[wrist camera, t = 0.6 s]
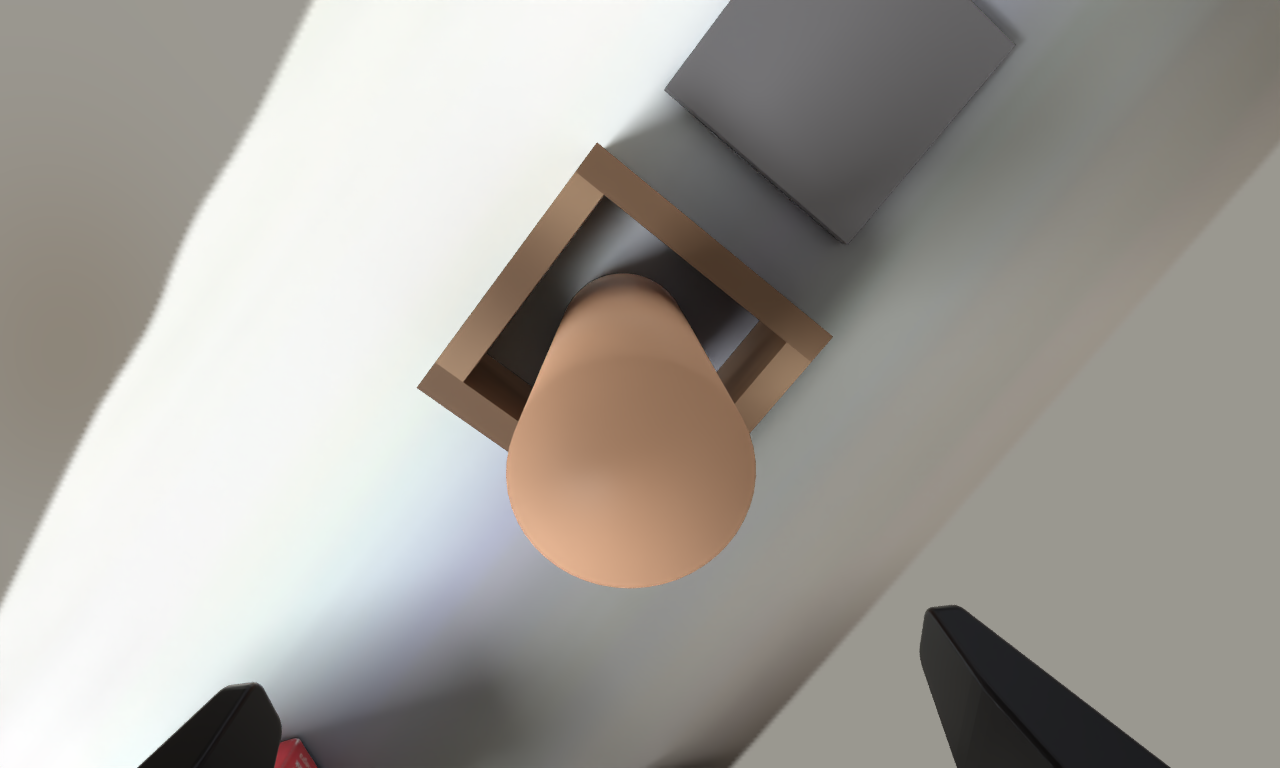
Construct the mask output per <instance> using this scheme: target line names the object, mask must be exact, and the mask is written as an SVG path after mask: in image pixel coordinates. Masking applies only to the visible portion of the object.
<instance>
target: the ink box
mask: <svg viewBox="0 0 1280 768" xmlns="http://www.w3.org/2000/svg"><path fill="white" fill-rule="evenodd" d="M274 768H318V767H317V766H316V764H315V762H314V761H313V759H312V758H311V756H310V755H309V753H308V752H307V750H306V749H305V747H304V745H303V743H302V742H301V740H300V739H297V738H294V739H290V740H286V741H283V742H280V745H279V749H278V754H277V758H276V762H275V767H274Z"/></svg>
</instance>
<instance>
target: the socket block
mask: <svg viewBox="0 0 1280 768" xmlns="http://www.w3.org/2000/svg"><path fill="white" fill-rule="evenodd" d="M604 196H606V197H607V198H609V199H610V200H611V201H612V202H614V203H615V204H616V205H617V206H619V207H620V208H621V209H622V210H624V211H625V212H626V213H627V214H629V215H630V216H631V217H632V218H633V219H635V220H636V221H637V222H638V223H640V224H641V225H642V226H643V227H645V228H646V229H647V230H648V231H650V232H651V233H652V234H653V235H655V236H656V237H657V238H658V239H659V240H661V241H662V242H663V243H664V244H666V245H667V246H668V247H669V248H671V249H672V250H673V251H674V252H676V253H677V254H678V255H679V256H680V257H682V258H683V259H684V260H685V261H687V262H688V263H689V264H690V265H692V266H693V267H694V268H695V269H697V270H698V271H699V272H700V273H702V274H703V275H704V276H705V277H706V278H708V279H709V280H710V281H711V282H713V283H714V284H715V285H716V286H718V287H719V288H720V289H721V290H723V291H724V292H725V293H726V294H728V295H729V296H730V297H731V298H732V299H734V300H735V301H736V302H737V303H739V304H740V305H741V306H742V307H744V308H745V309H746V310H747V311H749V312H750V313H751V314H752V315H754V316H755V317H756V318H757V319H758V320H760V321H759V322H758V323H757V325H756V326H755V327H754V328H753V329H752V331H751V332H750V333H749V334H748V335H747V337H746V338H745V339H744V340H743V341H742V343H741V344H740V345H739V346H738V347H737V348H736V350H735V351H734V352H733V353H732V354H731V356H730V357H729V358H728V359H727V360H726V362H725V363H724V364H723V365H722V366H721V368H720V369H719V370H718V371H717V374H718V376H719V378H720V379H721V381H722V383H723V385H724V386H725V388H726V390H727V392H728V393H729V395H730V397H731V399H732V400H733V402H734V404H735V406H736V408H737V409H738V411H739V413H740V415H741V416H742V418H743V420H744V422H745V425H746V427H747V429H748V431H749V433H750V432H751V431H752V430H753V429H754V428H755V427H756V425H757V424H758V423H759V422H760V421H761V420H762V418H763V417H764V416H765V415H766V414H767V413H768V411H769V410H770V409H771V408H772V407H773V406H774V405H775V403H776V402H777V401H778V400H779V399H780V398H781V396H782V395H783V394H784V393H785V392H786V391H787V389H788V388H789V387H790V386H791V385H792V384H793V382H794V381H795V380H796V379H797V378H798V377H799V376H800V374H801V373H802V372H803V371H804V370H805V369H806V367H807V366H808V365H809V364H810V363H811V362H812V360H813V359H814V358H815V357H816V356H817V355H818V354H819V352H820V351H821V350H822V349H823V348H824V347H825V345H826V344H827V343H828V342H829V341H830V340H831V338H832V337H833V336H832V335H830V334H829V333H828V332H827V331H825V330H824V329H823V328H822V327H821V326H819V325H818V324H817V323H816V322H815V321H813V320H812V319H811V318H810V317H808V316H807V315H806V314H805V313H804V312H802V311H801V310H800V309H799V308H798V307H796V306H795V305H794V304H793V303H791V302H790V301H789V300H788V299H787V298H785V297H784V296H783V295H782V294H781V293H779V292H778V291H777V290H776V289H774V288H773V287H772V286H771V285H770V284H768V283H767V282H766V281H765V280H764V279H762V278H761V277H760V276H759V275H757V274H756V273H755V272H754V271H753V270H751V269H750V268H749V267H748V266H747V265H745V264H744V263H743V262H742V261H740V260H739V259H738V258H737V257H736V256H734V255H733V254H732V253H731V252H730V251H728V250H727V249H726V248H725V247H723V246H722V245H721V244H720V243H719V242H717V241H716V240H715V239H714V238H713V237H711V236H710V235H709V234H708V233H706V232H705V231H704V230H703V229H702V228H700V227H699V226H698V225H697V224H696V223H694V222H693V221H692V220H691V219H689V218H688V217H687V216H686V215H685V214H683V213H682V212H681V211H680V210H679V209H677V208H676V207H675V206H674V205H672V204H671V203H670V202H669V201H668V200H666V199H665V198H664V197H663V196H662V195H660V194H659V193H658V192H657V191H655V190H654V189H653V188H652V187H651V186H649V185H648V184H647V183H646V182H645V181H643V180H642V179H641V178H640V177H638V176H637V175H636V174H635V173H634V172H632V171H631V170H630V169H629V168H628V167H626V166H625V165H624V164H623V163H621V162H620V161H619V160H618V159H617V158H615V157H614V156H613V155H612V154H611V153H609V152H608V151H607V150H606V149H604V148H603V147H602V146H601V145H600V144H598V143H596V145H595V146H594V147H593V149H592V150H591V151H590V153H589V154H588V155H587V157H586V158H585V160H584V161H583V162H582V164H581V165H580V166H579V168H578V169H577V170H576V172H575V173H574V175H573V176H572V177H571V179H570V180H569V181H568V183H567V184H566V185H565V187H564V188H563V189H562V191H561V192H560V194H559V195H558V196H557V198H556V199H555V200H554V202H553V203H552V204H551V206H550V207H549V209H548V210H547V211H546V213H545V214H544V215H543V217H542V218H541V219H540V221H539V222H538V223H537V225H536V226H535V228H534V229H533V230H532V232H531V233H530V234H529V236H528V237H527V238H526V240H525V241H524V242H523V244H522V245H521V247H520V248H519V249H518V251H517V252H516V253H515V255H514V256H513V257H512V259H511V260H510V262H509V263H508V264H507V266H506V267H505V268H504V270H503V271H502V272H501V274H500V275H499V276H498V278H497V279H496V281H495V282H494V283H493V285H492V286H491V287H490V289H489V290H488V291H487V293H486V294H485V296H484V297H483V298H482V300H481V301H480V302H479V304H478V305H477V306H476V308H475V309H474V310H473V312H472V313H471V315H470V316H469V317H468V319H467V320H466V321H465V323H464V324H463V325H462V327H461V328H460V330H459V331H458V332H457V334H456V335H455V336H454V338H453V339H452V340H451V342H450V343H449V344H448V346H447V347H446V349H445V350H444V351H443V353H442V354H441V355H440V357H439V358H438V359H437V361H436V362H435V363H434V365H433V366H432V368H431V369H430V370H429V372H428V373H427V374H426V376H425V377H424V378H423V380H422V381H421V383H420V384H419V385H418V387H417V388H418V389H419V390H421V391H422V392H423V393H425V394H426V395H428V396H429V397H431V398H432V399H433V400H435V401H436V402H438V403H439V404H441V405H442V406H443V407H445V408H446V409H448V410H449V411H451V412H452V413H453V414H455V415H456V416H458V417H459V418H461V419H462V420H463V421H465V422H466V423H468V424H469V425H471V426H472V427H473V428H475V429H476V430H478V431H479V432H481V433H482V434H483V435H485V436H486V437H488V438H489V439H491V440H492V441H493V442H495V443H496V444H498V445H499V446H501V447H502V448H503V449H505V450H506V451H508V452H509V446H510V443H511V440H512V437H513V434H514V431H515V429H516V426H517V424H518V422H519V419H520V417H521V415H522V412H523V410H524V408H525V405H526V403H527V400H528V398H529V396H530V393H531V391H532V389H533V387H532V386H531V385H529V384H528V383H526V382H525V381H524V380H522V379H521V378H520V377H518V376H517V375H515V374H514V373H513V372H511V371H510V370H509V369H507V368H506V367H504V366H503V365H502V364H500V363H499V362H498V361H496V360H495V359H493V358H492V357H491V356H489V355H488V354H487V352H488V350H489V349H490V348H491V346H492V345H493V344H494V342H495V341H496V340H497V338H498V337H499V336H500V334H501V333H502V332H503V330H504V329H505V328H506V326H507V325H508V324H509V322H510V321H511V320H512V318H513V317H514V316H515V314H516V313H517V312H518V310H519V309H520V308H521V306H522V305H523V304H524V302H525V301H526V300H527V298H528V297H529V296H530V294H531V293H532V292H533V290H534V289H535V288H536V286H537V285H538V284H539V282H540V281H541V280H542V278H543V277H544V276H545V274H546V273H547V272H548V270H549V269H550V268H551V266H552V265H553V264H554V262H555V261H556V260H557V258H558V257H559V256H560V254H561V253H562V252H563V250H564V249H565V248H566V246H567V245H568V244H569V242H570V241H571V240H572V238H573V237H574V236H575V234H576V233H577V232H578V230H579V229H580V228H581V226H582V225H583V224H584V222H585V221H586V220H587V218H588V217H589V216H590V214H591V213H592V212H593V210H594V209H595V208H596V206H597V205H598V204H599V202H600V201H601V200H602V198H603V197H604Z"/></svg>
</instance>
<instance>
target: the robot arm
mask: <svg viewBox="0 0 1280 768" xmlns="http://www.w3.org/2000/svg"><path fill="white" fill-rule="evenodd" d="M920 660H921V664H922V667H923V670H924V673H925V676H926V679H927V682H928V685H929V688H930V691H931V694H932V697H933V700H934V702H935V705H936V708H937V711H938V714H939V717H940V720H941V723H942V726H943V728H944V731H945V734H946V737H947V740H948V743H949V746H950V749H951V752H952V755H953V758H954V760H955V763H956V766H957V768H1170V767H1169V766H1168V765H1166V764H1165V763H1164V762H1163V761H1161V760H1160V759H1159V758H1157V757H1156V756H1155V755H1153V754H1152V753H1151V752H1149V751H1148V750H1147V749H1146V748H1144V747H1143V746H1142V745H1140V744H1139V743H1138V742H1136V741H1135V740H1134V739H1133V738H1131V737H1130V736H1129V735H1127V734H1126V733H1125V732H1123V731H1122V730H1121V729H1120V728H1118V727H1117V726H1116V725H1114V724H1113V723H1112V722H1110V721H1109V720H1108V719H1106V718H1105V717H1104V716H1103V715H1101V714H1100V713H1099V712H1097V711H1096V710H1095V709H1094V708H1092V707H1091V706H1090V705H1088V704H1087V703H1086V702H1084V701H1083V700H1082V699H1080V698H1079V697H1078V696H1077V695H1075V694H1074V693H1073V692H1071V691H1070V690H1069V689H1067V688H1066V687H1065V686H1064V685H1062V684H1061V683H1060V682H1058V681H1057V680H1056V679H1054V678H1053V677H1052V676H1051V675H1049V674H1048V673H1046V672H1045V671H1044V670H1043V669H1041V668H1040V667H1039V666H1038V665H1036V664H1035V663H1034V662H1032V661H1031V660H1030V659H1028V658H1027V657H1026V656H1025V655H1023V654H1022V653H1021V652H1019V651H1018V650H1017V649H1015V648H1014V647H1013V646H1012V645H1010V644H1009V643H1008V642H1006V641H1005V640H1004V639H1002V638H1001V637H1000V636H998V635H997V634H996V633H995V632H993V631H992V630H991V629H989V628H988V627H987V626H985V625H984V624H983V623H982V622H980V621H979V620H977V619H976V618H975V617H973V616H972V615H971V614H970V613H969V612H967V611H966V610H965V609H963V608H962V607H959V606H957V605H948V606H938V607H931V608H929V609H928V610H927V611H926V612H925V616H924V622H923V629H922V636H921V642H920ZM281 733H282V728H281V722H280V719H279V716H278V714H277V713H276V711H275V709H274V707H273V705H272V703H271V701H270V699H269V698H268V696H267V694H266V692H265V690H264V688H263V687H262V686H261V685H260V684H258V683H254V682H252V683H243V684H234V685H229V686H227V687H225V688H223V689H222V690H220V691H219V692H218V693H217V694H216V695H215V696H214V697H213V698H211V699H210V700H209V701H208V702H207V703H206V704H205V705H204V706H203V707H202V708H201V709H200V710H199V711H198V712H196V713H195V714H194V715H193V716H192V717H191V718H190V719H189V720H188V721H187V722H186V723H185V724H184V725H183V726H182V727H180V728H179V729H178V730H177V731H176V732H175V733H174V734H173V735H172V736H171V737H170V738H169V739H168V740H167V741H165V742H164V743H163V744H162V745H161V746H160V747H159V748H158V749H157V750H156V751H155V752H154V753H153V754H152V755H150V756H149V757H148V758H147V759H146V760H145V761H144V762H143V763H142V764H141V765H140V766H139V767H138V768H274V767H275V762H276V758H277V754H278V749H279V745H280V740H281Z"/></svg>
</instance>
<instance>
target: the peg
mask: <svg viewBox="0 0 1280 768" xmlns="http://www.w3.org/2000/svg"><path fill="white" fill-rule="evenodd" d="M755 479H756V461H755V454H754V448H753V444H752V441H751V437H750V434H749V431H748V429H747V427H746V425H745V422H744V420H743V418H742V416H741V415H740V413H739V411H738V409H737V408H736V406H735V404H734V402H733V400H732V399H731V397H730V395H729V393H728V392H727V390H726V388H725V386H724V385H723V383H722V381H721V379H720V378H719V376H718V374H717V372H716V371H715V369H714V367H713V365H712V364H711V362H710V360H709V358H708V357H707V355H706V353H705V351H704V350H703V348H702V346H701V344H700V343H699V341H698V339H697V337H696V335H695V334H694V332H693V330H692V328H691V327H690V325H689V323H688V321H687V320H686V318H685V316H684V314H683V313H682V311H681V309H680V307H679V306H678V304H677V302H676V301H675V299H674V298H673V297H672V296H671V294H670V293H669V292H668V291H667V290H666V289H664V288H663V287H662V286H661V285H659V284H658V283H656V282H655V281H653V280H651V279H649V278H646V277H643V276H640V275H635V274H628V273H619V274H611V275H607V276H604V277H601V278H598V279H596V280H594V281H592V282H590V283H589V284H587V285H586V286H584V287H583V288H582V289H581V290H580V291H579V292H578V293H577V294H576V295H575V296H574V297H573V299H572V300H571V302H570V303H569V305H568V307H567V309H566V311H565V313H564V315H563V318H562V320H561V323H560V325H559V327H558V330H557V332H556V334H555V337H554V339H553V341H552V344H551V346H550V349H549V351H548V353H547V356H546V358H545V360H544V363H543V365H542V367H541V370H540V372H539V374H538V377H537V379H536V382H535V384H534V386H533V389H532V391H531V393H530V396H529V398H528V400H527V403H526V405H525V408H524V410H523V412H522V415H521V417H520V419H519V422H518V424H517V426H516V429H515V431H514V434H513V437H512V440H511V443H510V446H509V452H508V457H507V469H506V480H507V489H508V495H509V499H510V503H511V507H512V509H513V512H514V514H515V517H516V519H517V521H518V523H519V525H520V527H521V528H522V530H523V532H524V534H525V535H526V536H527V538H528V539H529V540H530V542H531V543H532V544H533V545H534V547H535V548H536V549H537V550H538V551H539V552H540V553H541V554H542V555H543V556H544V557H546V558H547V559H548V560H549V561H551V562H552V563H553V564H555V565H556V566H557V567H559V568H561V569H562V570H564V571H566V572H568V573H569V574H571V575H573V576H576V577H578V578H580V579H583V580H585V581H588V582H592V583H595V584H599V585H604V586H610V587H616V588H642V587H650V586H656V585H661V584H664V583H668V582H671V581H674V580H677V579H679V578H682V577H684V576H686V575H688V574H691V573H692V572H694V571H696V570H697V569H699V568H701V567H702V566H704V565H705V564H707V563H708V562H709V561H711V560H712V559H713V558H714V557H716V556H717V555H718V554H719V553H720V552H721V551H722V550H723V549H724V548H725V547H726V546H727V545H728V543H729V542H730V541H731V540H732V538H733V537H734V536H735V534H736V533H737V531H738V530H739V528H740V526H741V525H742V523H743V521H744V519H745V517H746V514H747V512H748V510H749V507H750V504H751V501H752V497H753V493H754V487H755Z"/></svg>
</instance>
